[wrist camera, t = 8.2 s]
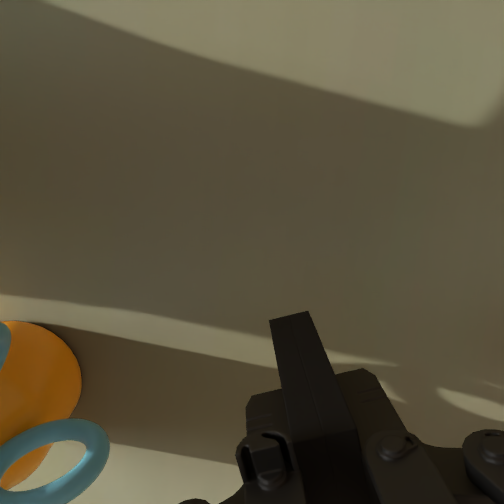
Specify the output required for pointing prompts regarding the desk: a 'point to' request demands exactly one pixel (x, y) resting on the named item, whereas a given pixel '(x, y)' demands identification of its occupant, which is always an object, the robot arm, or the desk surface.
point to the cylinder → (42, 415)
